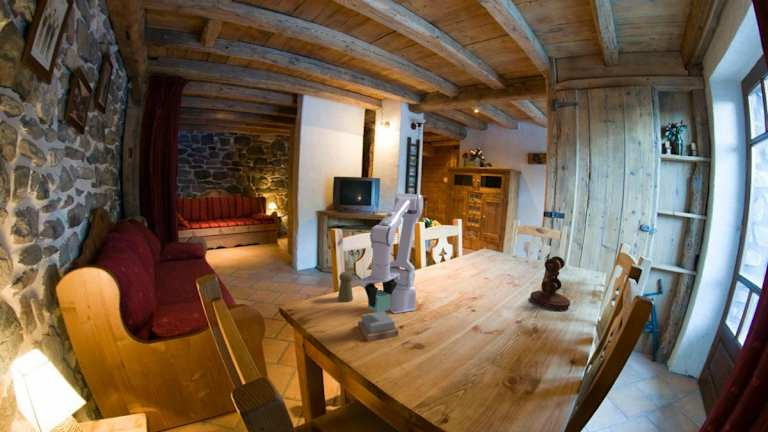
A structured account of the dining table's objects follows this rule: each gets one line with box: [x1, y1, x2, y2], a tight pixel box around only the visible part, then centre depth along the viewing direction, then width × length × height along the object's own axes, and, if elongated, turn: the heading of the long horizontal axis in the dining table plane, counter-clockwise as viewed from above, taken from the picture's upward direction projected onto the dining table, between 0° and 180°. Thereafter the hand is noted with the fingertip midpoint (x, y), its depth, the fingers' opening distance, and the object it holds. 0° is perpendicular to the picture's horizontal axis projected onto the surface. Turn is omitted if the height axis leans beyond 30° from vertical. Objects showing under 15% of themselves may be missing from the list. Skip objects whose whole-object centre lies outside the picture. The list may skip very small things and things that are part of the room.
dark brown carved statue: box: [530, 255, 571, 312], centre depth 126 cm, size 15×15×20 cm
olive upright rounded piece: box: [337, 271, 354, 303], centre depth 121 cm, size 6×6×11 cm
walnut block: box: [357, 319, 399, 342], centre depth 98 cm, size 10×10×2 cm
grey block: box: [361, 311, 395, 333], centre depth 98 cm, size 8×8×2 cm
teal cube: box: [367, 289, 390, 313], centre depth 97 cm, size 5×5×5 cm
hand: (379, 304), depth 97 cm, fingers closed on teal cube, 5 cm apart
